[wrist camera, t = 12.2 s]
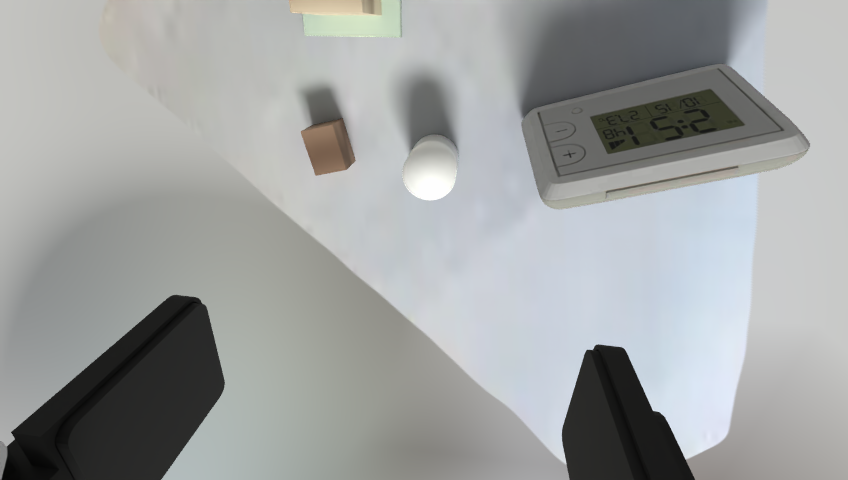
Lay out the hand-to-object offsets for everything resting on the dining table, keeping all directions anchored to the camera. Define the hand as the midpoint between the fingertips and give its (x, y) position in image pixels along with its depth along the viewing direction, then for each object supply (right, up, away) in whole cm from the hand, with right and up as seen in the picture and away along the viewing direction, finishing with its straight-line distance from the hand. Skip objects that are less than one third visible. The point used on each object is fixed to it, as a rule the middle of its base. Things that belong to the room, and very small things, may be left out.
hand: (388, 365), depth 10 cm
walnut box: (-8, +12, +28) cm, 32 cm away
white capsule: (+2, +11, +28) cm, 30 cm away
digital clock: (+17, +13, +25) cm, 33 cm away
